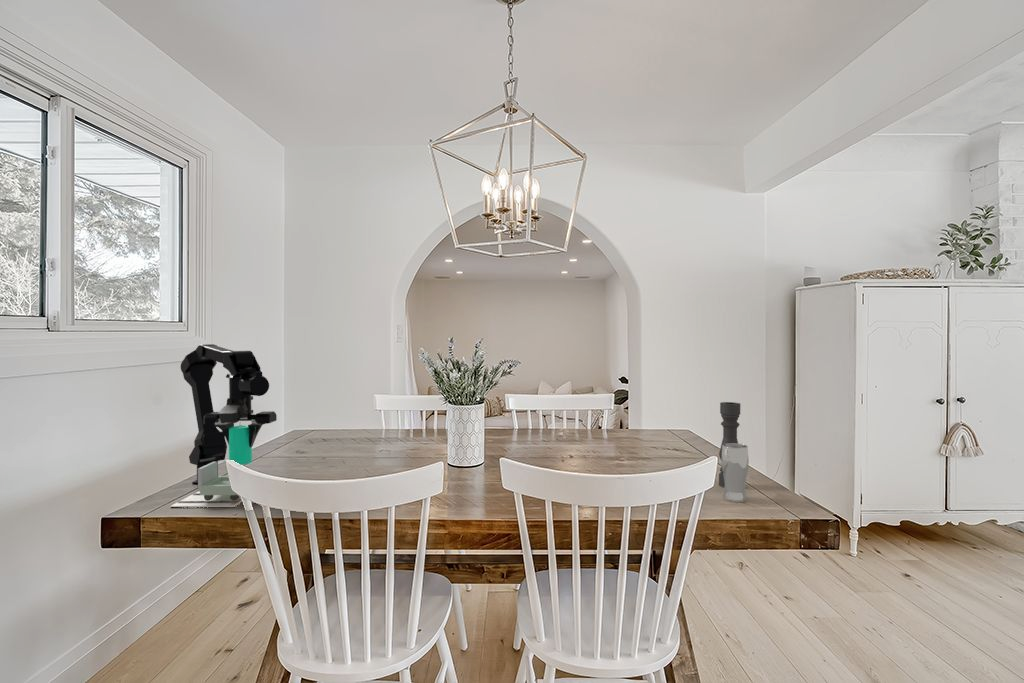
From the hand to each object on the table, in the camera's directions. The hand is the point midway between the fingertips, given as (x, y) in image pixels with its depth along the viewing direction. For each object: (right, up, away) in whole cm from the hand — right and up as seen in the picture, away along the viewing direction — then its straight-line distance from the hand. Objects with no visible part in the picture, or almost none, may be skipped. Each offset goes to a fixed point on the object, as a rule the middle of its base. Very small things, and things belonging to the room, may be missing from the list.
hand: (241, 447), depth 159 cm
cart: (0, -12, -8) cm, 14 cm away
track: (-3, -13, -8) cm, 16 cm away
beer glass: (+141, -13, -7) cm, 142 cm away
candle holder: (+145, -13, +6) cm, 146 cm away
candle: (0, -5, 0) cm, 5 cm away
